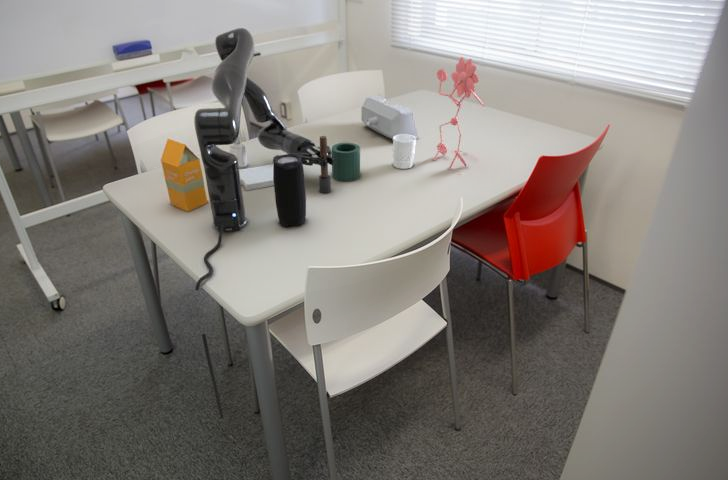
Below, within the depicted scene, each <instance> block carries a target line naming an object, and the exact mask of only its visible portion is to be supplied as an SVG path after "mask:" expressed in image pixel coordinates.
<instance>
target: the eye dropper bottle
mask: <svg viewBox="0 0 728 480" xmlns="http://www.w3.org/2000/svg"><path fill="white" fill-rule="evenodd" d="M229 153H232V154H234V155H235V156H236V157H237V159H238V165H239V168H240V169H241V168H243V169H244V168H246V167H247V166H248V159H247V151H246V146H245V144H243V143H242V142H241V139H240V136H238V139H237V141H236V142H235V143H234V144H230V145H229Z"/></svg>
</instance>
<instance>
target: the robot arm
mask: <svg viewBox="0 0 728 480" xmlns="http://www.w3.org/2000/svg"><path fill="white" fill-rule="evenodd" d="M214 43H215V49H216V52H217V54H218V56H219V59H220V60H221V62H220V63H219V64H218V65H217V67H216V68H215V70H214V72H213V78H212V80H211V91H212V93H213V95H214V97H215V98H216V100H217V101H218V102H219V104H221V105H222V106H223V107H214V108H212V107H210V108H207V107H206V108H199V109H197V110H196V111H195V113H194V117H193V118H194V120H193V122H194V130H195V135H196V140H197V143H198V147H199V152H200V157H201V162H202V165H203V170H204V176H205V181H206V187H207V188H206V189H207V193H208V194H207V195H208V199H209V205H210V210H211V216H212V221H213V227H214V229H216V230H217V232H218V240H217V243H216V245H214V247H213V248H212V249H211V250H209V251H207V252H206V253H205V254H204V258H203V261H204V263H205V266H207V268H208V272H207V273H205V274H204V275H202V276H200V278H199V279H198V280H197V281H196V284H195V287H194V288H195V289H194V290H195V291H198V290H200V287H201V284H202V282H203V281H205V280H206V279H208V278H209V277H211V275H213V271H214V268H213V266H212V264H211V262H209V260H208V259H209V257H210V255H212V254H214V253H215V252H216V251H218V249H219V248H220V246H221V244H222V240H223V235H224V232H236V231H241V229H242V228H243V227H245V226H246V225H247V222H248V221H247V217H246V210H245V203H244V196H243V189H242V187H243V186H242V185H241V180H240V173H239V170H240V167H239V165H238V159H237V157H236V156H235V155H234V154H232V153H230V151H226V150H224V149H222V148H220V147H219V146H230V144H234V143H235V142H236V141H237V139H238V136H239V135H240V130H241V129H240V127H241V115H242V105H243V100H244V99H245V102H246V103H247V106H248V108H249V110H250V112H251V114H252V117H253V118H254V120H255V122H256V123H259V124H264V123H266V122H270V123H269V124H267V125H266V126H264V127H262V128H261V129H260V130H259V131H258V133H257V141H258V143H259V144H260V146H262V147H264V148H266V149H268V150H274V151H281V152H283V153H285V154H290V153H296V154H299V155H301V160H302V164H303V166H311V167H313V165H316V166H320V167H321V166H323V167H327V161H326V160H325V159H323V158H321V157H320V146H317V145H316V143H314V141H312V140H311V139H309V138H307V137H304V136H303V135H300V134H298V133H295V132H292V131H291V130H288V129H287V127H286V125H285V124H284V122H283V121H282V120H281V119H280V118H279V116H278V115H277V114H276V112H275V110H274V109H273V106H272V105H271V102H270V100H269V97H268V95H267V93H266V92H265V90H264V89H263V88H262V87H261V86H260V85H259V84H258V83H256V82H255V81H253V79H251V78H249V77H248V73H249V69H250V66H251V64H252V61H253V59H254V56H255V50H256V49H255V42H254V37H253V35H252V33H251V32H250V31H249V30H248V29H247V28H244V27H238V28H234V29H232V30H229V31H225V32H223V33H220V34H218V35H217V36H216V37H215V40H214ZM239 137H240V136H239ZM327 159H328V165H329V166H330V165H331V166H332V165H334V158H333V157H332V149H331V148H330V146H329V145H327ZM201 337H202V342H203V343H202V344H203V347H204V352H205V356H206V357H205V358H206V362H207V365H208V370H209V373H210V378H211V382H212V387H213V391H214V395H215V399H216V404H217V408H218V413H219V418H220V420H224V412H223V409H222V403H221V399H220V394H219V390H218V386H217V382H216V378H215V373H214V368H213V364H212V358H211V354H210V350H209V346H208V340H207V335H206V333H202V334H201Z"/></svg>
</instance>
